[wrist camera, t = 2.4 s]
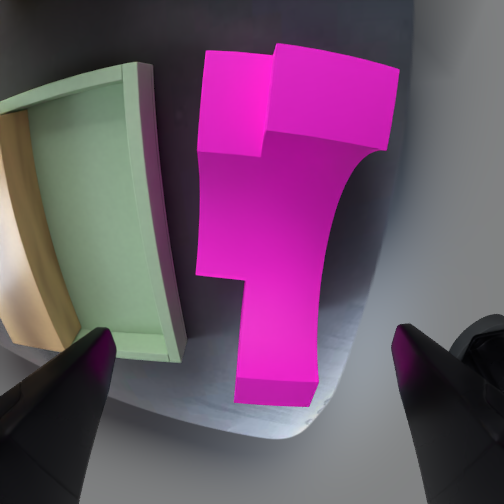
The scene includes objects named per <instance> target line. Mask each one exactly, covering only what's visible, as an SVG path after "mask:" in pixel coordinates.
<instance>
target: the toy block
mask: <svg viewBox="0 0 504 504" xmlns="http://www.w3.org/2000/svg"><path fill="white" fill-rule="evenodd" d="M399 70H400V69H397V68H393V67H390V66H386V65H383V64H379V63H376V62H372V61H368V60H364V59H360V58H356V57H352V56H347V55H343V54H338V53H333V52H328V51H323V50H318V49H312V48H306V47H300V46H293V45H286V44H279V43H277V44H276V47H275V50H274V53H273V55H264V54H254V53H243V52H229V51H208V50H206V54H205V63H204V73H203V83H202V93H201V105H200V117H199V129H198V143H197V155H198V164H199V178H200V216H199V238H198V252H197V265H196V275H199V276H208V277H217V278H227V279H236V280H245V282H244V291H243V300H242V309H241V321H240V333H239V345H238V358H237V370H236V383H235V395H234V403H244V404H257V405H272V406H295V407H309V406H310V403H311V401H312V398H313V396H314V393H315V391H316V388H317V386H318V383H319V377H318V364H317V323H318V307H319V295H320V286H321V278H322V271H323V264H324V258H325V252H326V247H327V242H328V238H329V233H330V229H331V225H332V221H333V218H334V214H335V211H336V208H337V205H338V202H339V199H340V196H341V194H342V191H343V189H344V187H345V185H346V183H347V181H348V179H349V177H350V175H351V173H352V172H353V170H354V169H355V167H356V166H357V165H358V163H359V162H360V161H361V160H362V159H363V158H364V157H366V156H367V155H368V154H370V153H372V152H375V151H379V150H383V151H387V146H388V140H389V135H390V129H391V124H392V118H393V112H394V105H395V99H396V92H397V85H398V77H399Z"/></svg>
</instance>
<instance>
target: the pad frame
mask: <svg viewBox="0 0 504 504" xmlns="http://www.w3.org/2000/svg"><path fill="white" fill-rule="evenodd" d="M22 110H28V119H29V128H30V136H31V144H32V150H33V157H34V163H35V169H36V174H37V179H38V184H39V189H40V194H41V199H42V203H43V208H44V212H45V216H46V220H47V224H48V228H49V232H50V235H51V239H52V243H53V246H54V250H55V253H56V256H57V260H58V263H59V266H60V269H61V272H62V275H63V278H64V281H65V284H66V287H67V290H68V293H69V296H70V298H71V301H72V304H73V307H74V309H75V312H76V314H77V317H78V320H79V322H80V325H81V329H80V331H79V332H78V334H77V336H76V337H75V339H74V341H73V342H72V344H73V343H75V342H76V341H78V340H79V339H80V338H82V337H83V336H85V335H86V334H87V333H89V332H90V331H92V330H93V329H95V328H96V327H107V328H109V329H110V331H111V334H112V336H113V339H114V341H115V344H116V348H117V353H116V358H126V359H136V360H148V361H161V362H176V363H181V362H182V358H183V354H184V350H185V347H186V343H187V335H186V330H185V325H184V320H183V315H182V310H181V304H180V299H179V293H178V288H177V282H176V276H175V270H174V264H173V258H172V251H171V245H170V238H169V231H168V224H167V216H166V209H165V201H164V193H163V185H162V176H161V167H160V157H159V146H158V135H157V123H156V110H155V95H154V77H153V65H151V64H146V63H142V62H137V61H136V62H131V63H126V64H123V65H116V66H112V67H107V68H103V69H99V70H95V71H91V72H87V73H83V74H79V75H76V76H72V77H69V78H65V79H62V80H59V81H55V82H52V83H49V84H46V85H43V86H40V87H37V88H34V89H32V90H29V91H26V92H23V93H21V94H18V95H15V96H13V97H10V98H8V99H5V100H3V101H0V115H4V114H9V113H13V112H17V111H22ZM72 344H71V345H72Z"/></svg>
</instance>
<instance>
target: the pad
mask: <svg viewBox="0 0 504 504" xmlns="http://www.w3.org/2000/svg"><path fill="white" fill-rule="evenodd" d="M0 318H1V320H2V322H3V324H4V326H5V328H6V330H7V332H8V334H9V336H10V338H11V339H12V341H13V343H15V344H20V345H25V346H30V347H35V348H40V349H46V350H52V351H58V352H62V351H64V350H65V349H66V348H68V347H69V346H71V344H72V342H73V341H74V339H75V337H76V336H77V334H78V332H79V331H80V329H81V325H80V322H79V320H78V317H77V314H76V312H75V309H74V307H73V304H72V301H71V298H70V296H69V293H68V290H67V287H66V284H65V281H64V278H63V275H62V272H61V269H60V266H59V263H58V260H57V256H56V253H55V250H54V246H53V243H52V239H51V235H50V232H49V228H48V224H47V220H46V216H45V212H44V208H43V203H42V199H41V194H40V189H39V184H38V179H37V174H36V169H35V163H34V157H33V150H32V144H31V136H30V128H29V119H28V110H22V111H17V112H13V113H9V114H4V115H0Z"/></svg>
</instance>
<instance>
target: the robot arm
mask: <svg viewBox="0 0 504 504" xmlns="http://www.w3.org/2000/svg"><path fill="white" fill-rule="evenodd" d="M391 350H392V356H393V361H394V366H395V370H396V376H397V382H398V387H399V392H400V395H401V399H402V402H403V406H404V409H405V413H406V416H407V420H408V424H409V427H410V431H411V435H412V438H413V442H414V446H415V450H416V454H417V458H418V462H419V467H420V471H421V475H422V480H423V484H424V489H425V494H426V498H427V503H428V504H504V329H503V330H498V331H493V332H487V333H482V334H477V335H475V336H473V337H472V339H471V341H470V343H469V345H468V347H467V349H466V351H465V353H464V355H463V357H462V359H461V361H460V360H459V359H458V358H456V357H455V356H454V355H452V354H451V353H450V352H448V351H447V350H445V349H444V348H443V347H441V346H440V345H439V344H438V343H436V342H435V341H433V340H432V339H431V338H429V337H428V336H426V335H425V334H424V333H422V332H421V331H420V330H418V329H417V328H416V327H414V326H413V325H411V324H400V325H398V326H397V328H396V331H395V335H394V338H393V341H392V345H391ZM116 353H117V348H116V344H115V341H114V339H113V336H112V334H111V331H110V329H109V328H107V327H96V328H95V329H93V330H92V331H90V332H89V333H87V334H86V335H85V336H83V337H82V338H80V339H79V340H78V341H76V342H75V343H73V344H72V345H71V346H69V347H68V348H66V349H65V350H64V351H62V352H61V353H59V354H58V355H57V356H55V357H54V358H53V359H51V360H50V361H48V362H47V363H46V364H44V365H43V366H41V367H40V368H39V369H37V370H36V371H35V372H33V373H32V374H30V375H29V376H28V377H26V378H25V379H24V380H22V382H20V383H18V384H17V385H16V386H14V387H13V388H11V389H10V390H9V391H7V392H6V393H4V394H3V395H2V396H0V504H79V501H80V500H79V499H80V495H81V491H82V486H83V482H84V478H85V474H86V470H87V466H88V462H89V458H90V454H91V450H92V447H93V443H94V439H95V436H96V432H97V429H98V425H99V422H100V418H101V415H102V412H103V408H104V405H105V402H106V399H107V395H108V392H109V387H110V382H111V377H112V372H113V368H114V363H115V358H116Z"/></svg>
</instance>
